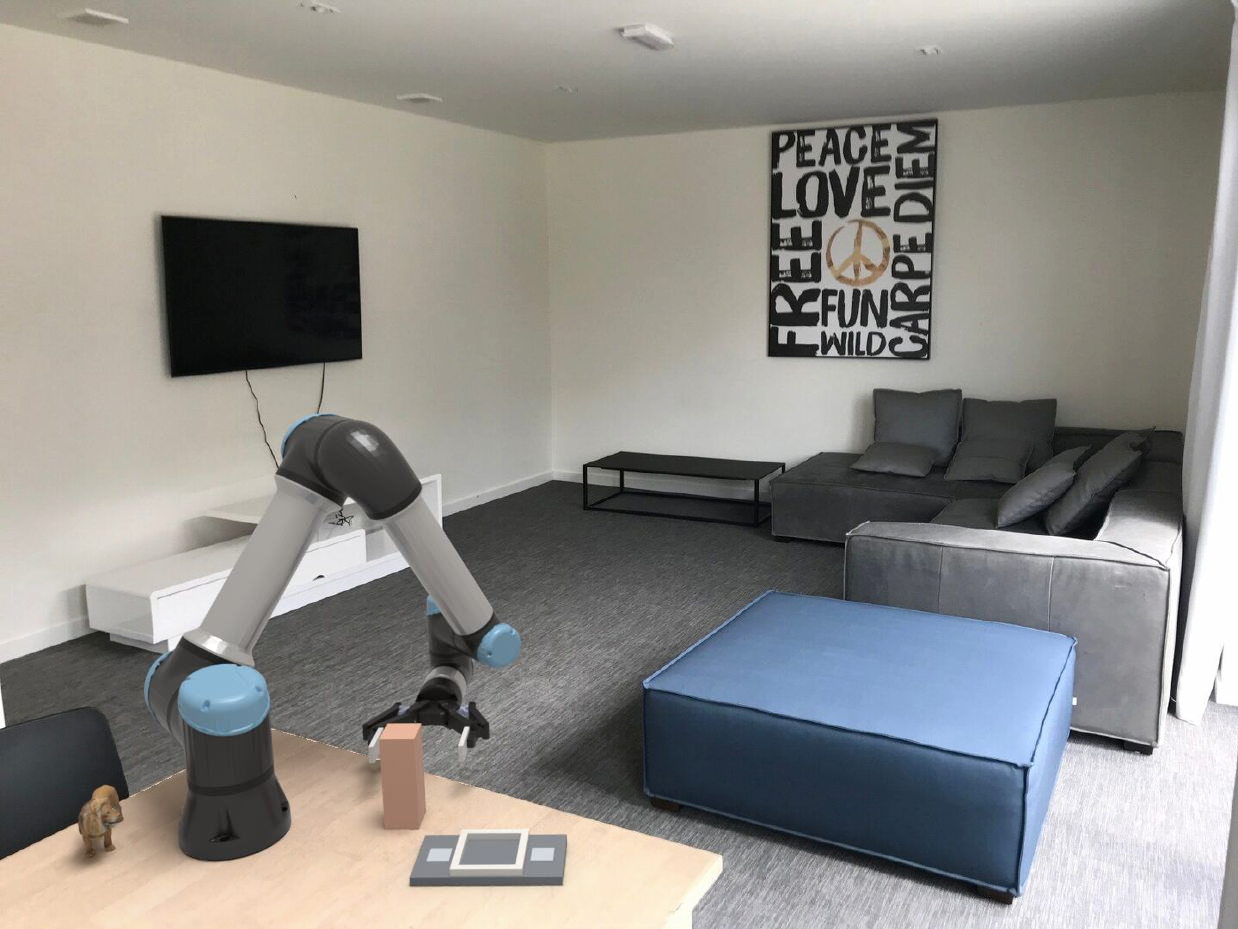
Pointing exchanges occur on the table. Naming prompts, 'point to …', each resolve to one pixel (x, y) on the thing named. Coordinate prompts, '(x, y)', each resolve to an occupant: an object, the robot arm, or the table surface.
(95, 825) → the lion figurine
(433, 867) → the base board
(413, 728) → the terracotta pillar
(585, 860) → the table surface
